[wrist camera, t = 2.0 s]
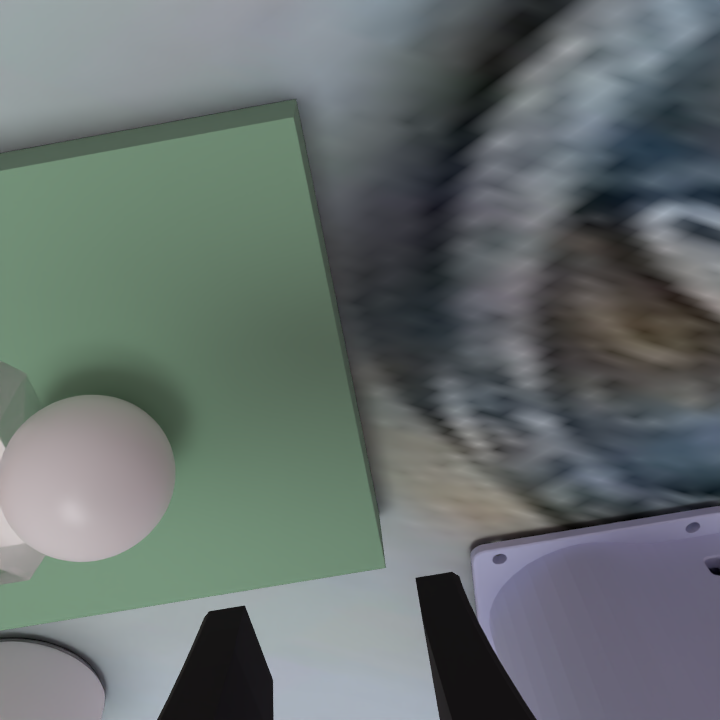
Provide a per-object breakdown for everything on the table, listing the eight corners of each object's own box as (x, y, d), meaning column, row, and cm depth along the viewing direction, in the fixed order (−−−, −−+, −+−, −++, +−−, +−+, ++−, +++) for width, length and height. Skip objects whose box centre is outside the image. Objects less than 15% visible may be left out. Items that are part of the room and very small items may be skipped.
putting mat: (296, 98, 16) (293, 117, 14) (379, 515, 23) (385, 567, 21) (-403, 227, 17) (-505, 263, 15) (-114, 596, 24) (-155, 656, 22)
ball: (161, 352, 17) (121, 450, 13) (204, 472, 19) (181, 583, 15) (8, 379, 17) (-70, 482, 13) (68, 495, 19) (14, 611, 15)
